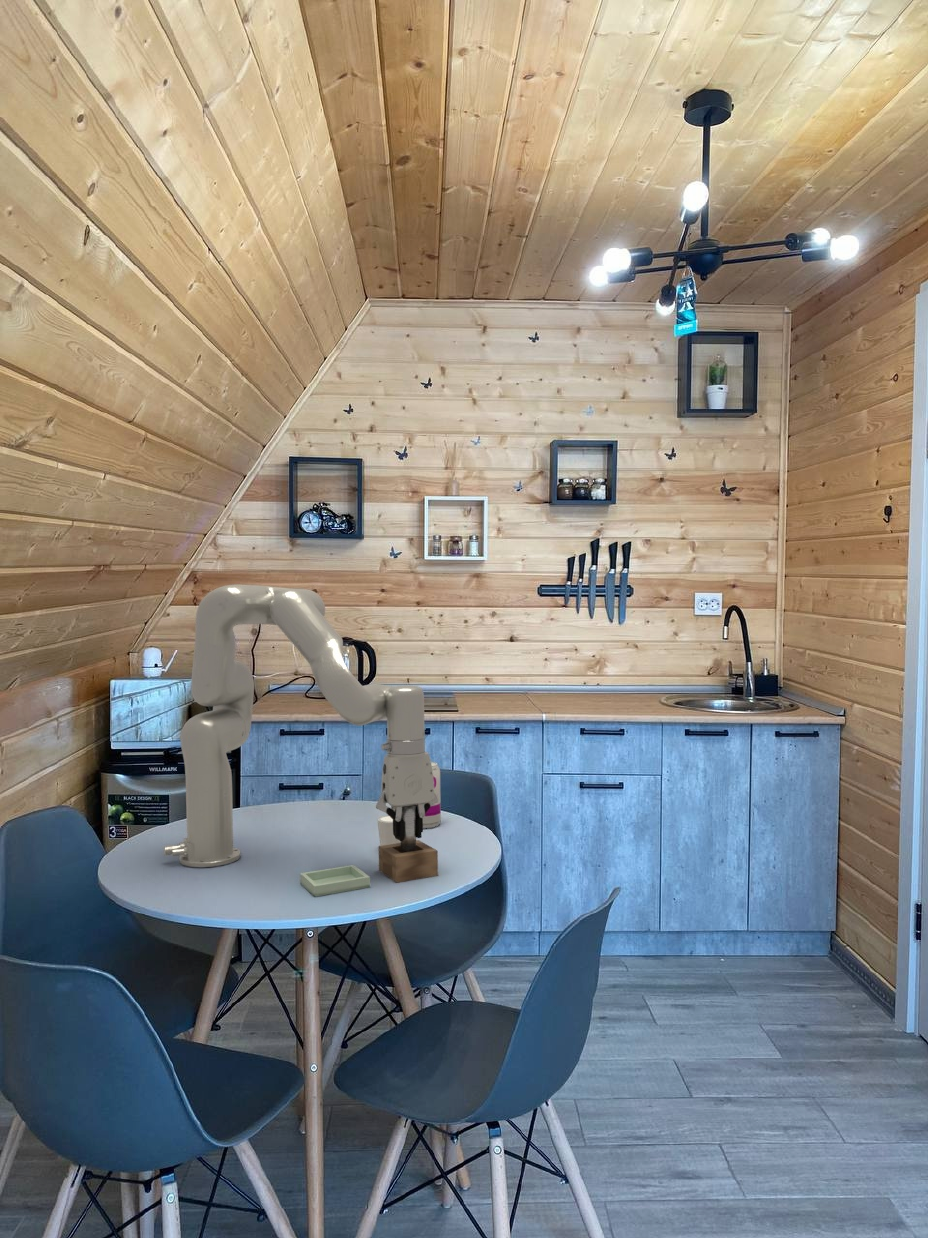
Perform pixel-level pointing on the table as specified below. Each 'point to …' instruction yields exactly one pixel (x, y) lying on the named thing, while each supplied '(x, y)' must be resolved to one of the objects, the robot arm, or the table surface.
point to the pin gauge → (409, 829)
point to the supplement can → (434, 811)
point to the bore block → (408, 862)
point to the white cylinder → (386, 831)
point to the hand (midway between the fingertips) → (408, 837)
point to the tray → (334, 880)
